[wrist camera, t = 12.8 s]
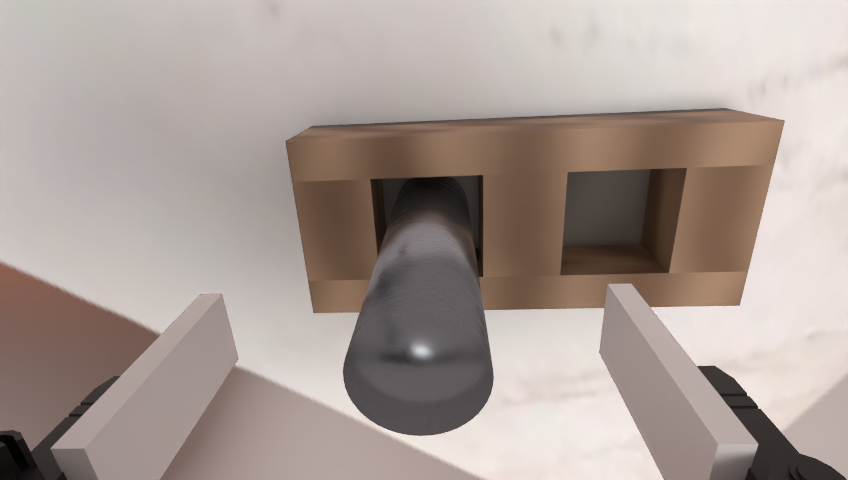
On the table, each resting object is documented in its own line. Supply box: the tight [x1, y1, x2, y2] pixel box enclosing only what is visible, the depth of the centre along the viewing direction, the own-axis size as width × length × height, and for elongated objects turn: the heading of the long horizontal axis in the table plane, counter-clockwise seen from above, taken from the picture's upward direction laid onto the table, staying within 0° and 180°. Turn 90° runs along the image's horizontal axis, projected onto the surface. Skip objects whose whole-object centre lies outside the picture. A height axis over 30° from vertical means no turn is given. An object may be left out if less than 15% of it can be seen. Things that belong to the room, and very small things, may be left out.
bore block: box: [286, 108, 785, 313], centre depth 27 cm, size 24×10×5 cm, turn 93°
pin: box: [343, 176, 493, 436], centre depth 21 cm, size 4×4×16 cm
